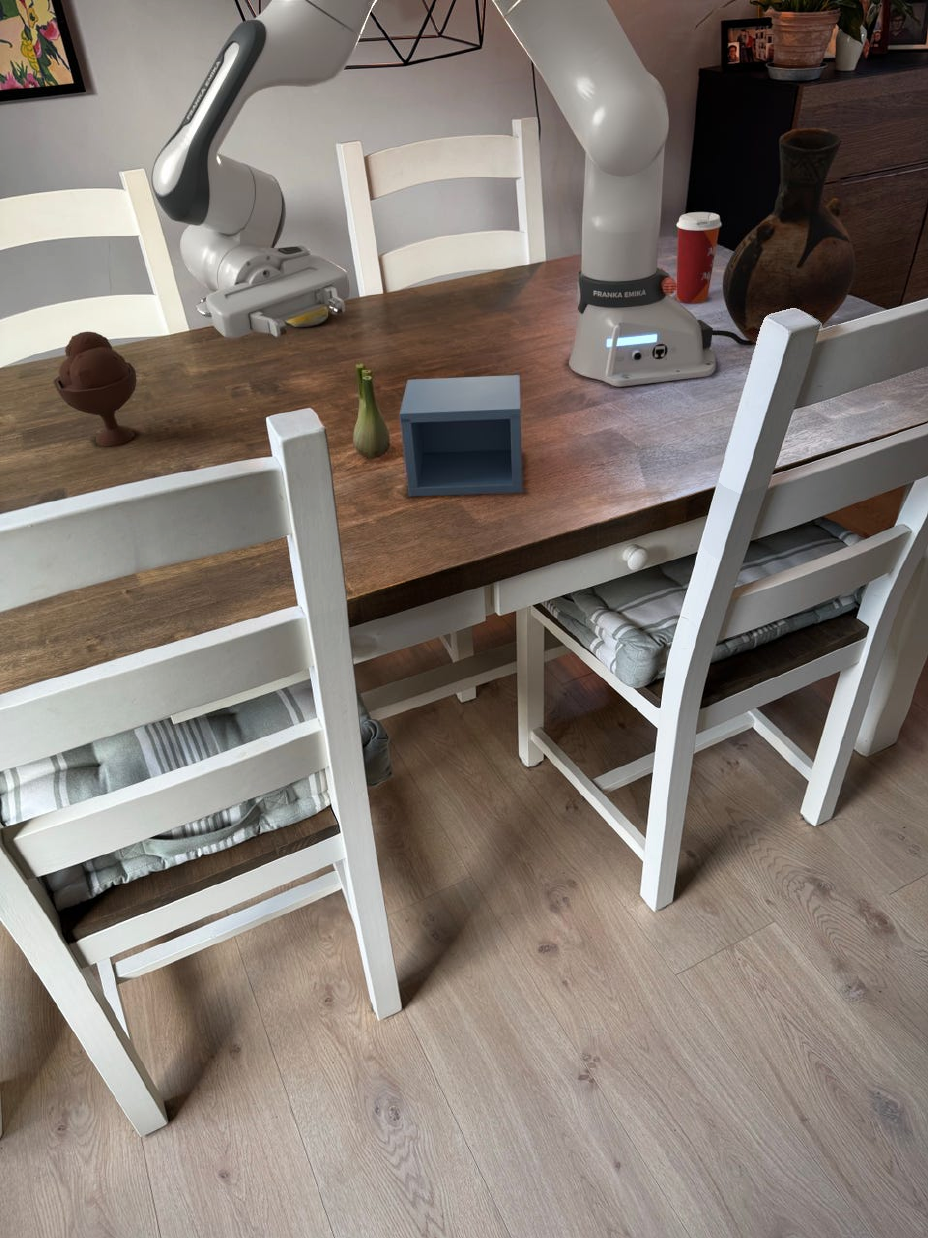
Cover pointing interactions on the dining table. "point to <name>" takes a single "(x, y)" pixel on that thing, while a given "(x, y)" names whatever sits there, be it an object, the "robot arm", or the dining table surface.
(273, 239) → the robot arm
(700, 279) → the paper cup
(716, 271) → the dining table surface
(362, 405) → the fennel bulb
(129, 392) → the ice cream bowl
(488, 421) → the box
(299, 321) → the bread roll
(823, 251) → the ceramic vessel
